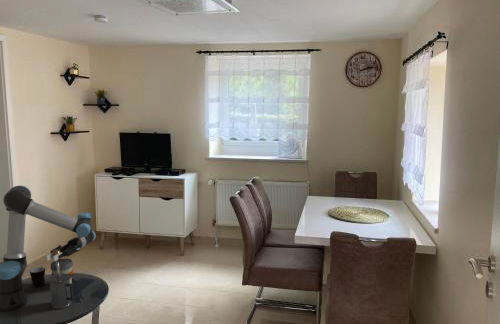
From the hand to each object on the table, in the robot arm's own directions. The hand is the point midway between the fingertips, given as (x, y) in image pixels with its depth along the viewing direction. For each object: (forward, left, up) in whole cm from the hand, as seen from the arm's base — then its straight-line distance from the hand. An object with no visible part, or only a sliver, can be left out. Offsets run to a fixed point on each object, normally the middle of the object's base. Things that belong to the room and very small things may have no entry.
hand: (50, 258), depth 222 cm
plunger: (0, +5, -19) cm, 20 cm away
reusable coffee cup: (-14, +27, -29) cm, 42 cm away
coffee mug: (-30, +27, -29) cm, 50 cm away
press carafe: (+1, +5, -29) cm, 30 cm away
